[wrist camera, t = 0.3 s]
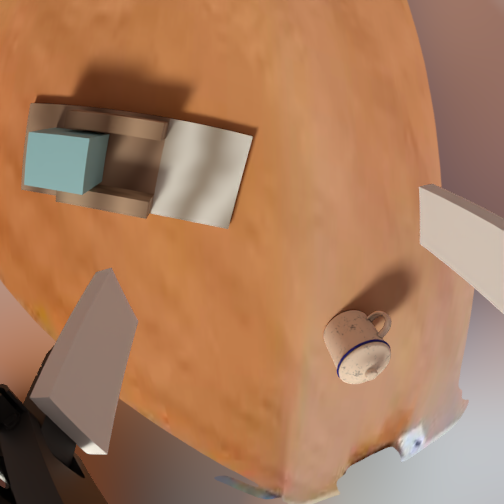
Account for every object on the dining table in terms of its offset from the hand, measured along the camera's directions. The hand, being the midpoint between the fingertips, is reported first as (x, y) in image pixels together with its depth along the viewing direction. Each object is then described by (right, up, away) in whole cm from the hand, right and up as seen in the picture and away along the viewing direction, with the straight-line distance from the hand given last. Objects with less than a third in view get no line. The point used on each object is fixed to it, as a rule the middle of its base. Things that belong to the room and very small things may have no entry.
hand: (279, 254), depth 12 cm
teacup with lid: (+16, -12, +38) cm, 43 cm away
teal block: (-23, +12, +20) cm, 33 cm away
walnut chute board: (-17, +12, +23) cm, 31 cm away
